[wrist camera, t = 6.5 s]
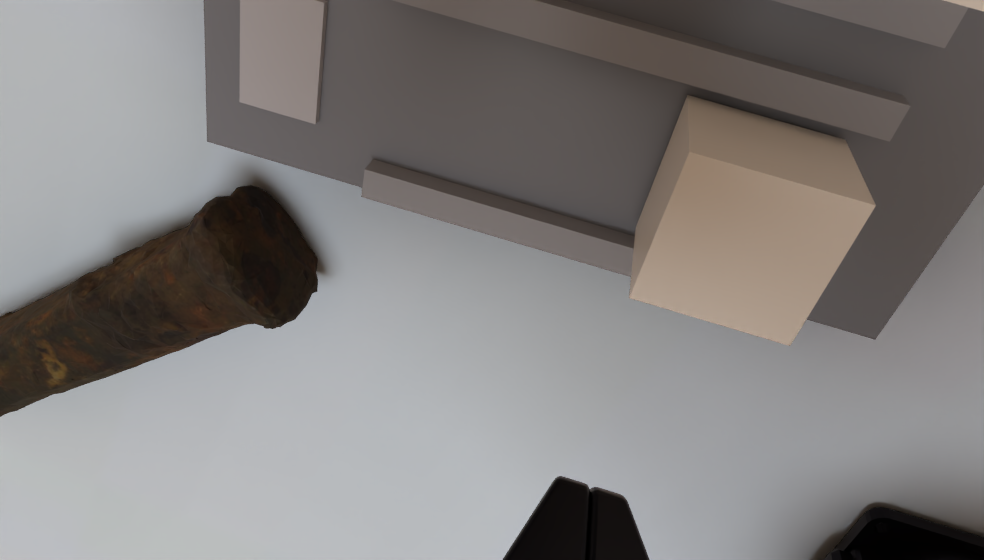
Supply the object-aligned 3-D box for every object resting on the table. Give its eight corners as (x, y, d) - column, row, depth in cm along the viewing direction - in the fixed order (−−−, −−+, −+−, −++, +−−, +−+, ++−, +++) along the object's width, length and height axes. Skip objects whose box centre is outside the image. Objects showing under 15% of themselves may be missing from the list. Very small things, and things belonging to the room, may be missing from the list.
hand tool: (267, 158, 21) (180, 238, 18) (339, 268, 23) (273, 362, 19) (-93, 315, 29) (-208, 394, 25) (-19, 388, 31) (-117, 473, 27)
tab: (845, 139, 16) (875, 205, 13) (774, 268, 18) (790, 346, 15) (687, 94, 16) (689, 151, 14) (635, 227, 18) (629, 297, 16)
